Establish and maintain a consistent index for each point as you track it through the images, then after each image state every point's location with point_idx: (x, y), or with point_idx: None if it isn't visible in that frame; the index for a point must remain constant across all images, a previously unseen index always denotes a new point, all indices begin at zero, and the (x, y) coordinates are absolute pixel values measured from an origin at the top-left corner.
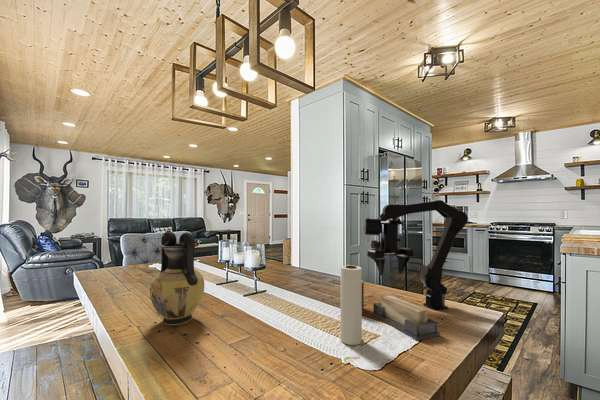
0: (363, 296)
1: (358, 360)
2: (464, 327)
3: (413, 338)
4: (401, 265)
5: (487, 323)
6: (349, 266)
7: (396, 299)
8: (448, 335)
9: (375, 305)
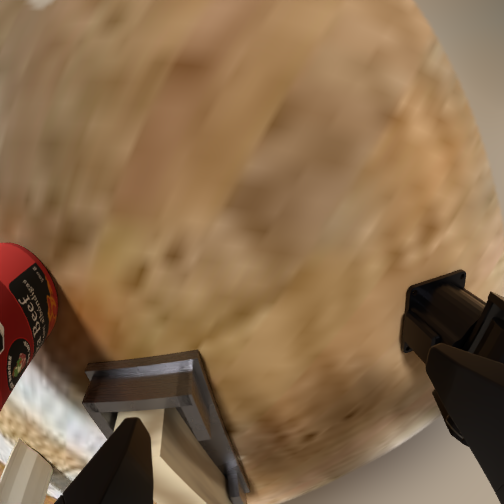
0: (30, 355)
1: (53, 491)
2: (354, 451)
3: None
4: (483, 441)
5: (426, 422)
6: None
7: (172, 487)
8: (273, 482)
9: (90, 411)
